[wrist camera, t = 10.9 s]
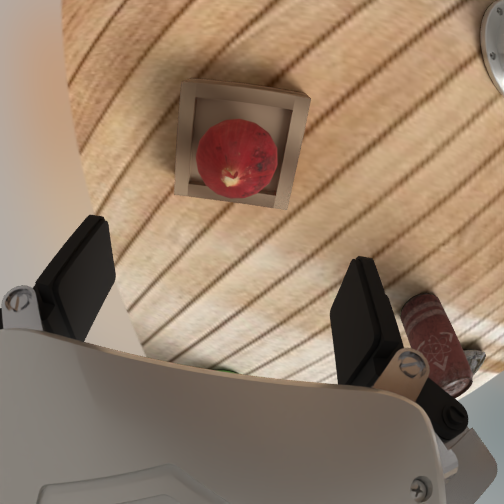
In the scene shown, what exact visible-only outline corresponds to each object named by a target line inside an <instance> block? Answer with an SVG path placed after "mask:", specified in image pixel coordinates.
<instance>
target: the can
mask: <svg viewBox="0 0 504 504" xmlns="http://www.w3.org/2000/svg"><path fill="white" fill-rule="evenodd" d="M401 321H402V323H403V326H404V329H405V332H406V334H407V337H408V340H409V343H410V346H411V348H412V349H415V350H417V351H419V352H420V353H421V354H422V355H423V356H424V357H425V358H426V360H427V361H428V364H429V368H430V372H429V376H428V377H429V378H430V379H431V380H432V381H434V382H435V383H436V384H437V385H439V386H440V387H441V388H442V389H444V390H445V391H446V392H447V393H448V394H450V395H451V396H452V397H453V398H457V397H458V396H460V395H461V394H463V393H464V392H466V391H467V390H468V389H469V388H470V386H471V385H472V382H473V381H472V377H473V373H472V370H471V368H470V366H469V363H468V361H467V358H466V356H465V354H464V351H463V349H462V347H461V345H460V342H459V340H458V338H457V336H456V334H455V331H454V329H453V327H452V325H451V323H450V321H449V319H448V317H447V315H446V313H445V311H444V309H443V307H442V305H441V303H440V301H439V299H438V297H436V296H435V295H432V294H428V293H424V294H419V295H417V296H415V297H413V298H412V299H410V300H409V301H408V302H407V303H406V304H405V305H404V307H403V309H402V313H401Z"/></svg>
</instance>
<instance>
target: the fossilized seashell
mask: <svg viewBox="0 0 504 504" xmlns="http://www.w3.org/2000/svg"><path fill="white" fill-rule="evenodd" d="M464 354H465V356H466V358H467V361H468V363H469V366H470V368H471V370H472V373H473V375H474V374H475V373H476V372H477V371H478V369H479V368H480V367H481V365H482V364H483V362H484V360H485V357H486V355H485V352H481V351H478V350H464Z"/></svg>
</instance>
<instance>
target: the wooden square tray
mask: <svg viewBox="0 0 504 504" xmlns="http://www.w3.org/2000/svg"><path fill="white" fill-rule="evenodd" d="M310 101H311V98H310V97H309V96H308V95H307V94H306V93H300V92H295V91H290V90H284V89H279V88H272V87H266V86H259V85H252V84H245V83H237V82H228V81H219V80H208V79H195V78H190V79H187V80H185V81H182V82H181V93H180V104H179V116H178V130H177V146H176V164H175V189H174V195H180V196H189V197H197V198H205V199H213V200H220V201H228V202H235V203H242V204H249V205H256V206H263V207H270V208H277V209H283V210H287V208H288V204H289V199H290V195H291V190H292V186H293V181H294V177H295V172H296V167H297V163H298V158H299V154H300V149H301V144H302V140H303V135H304V130H305V125H306V121H307V116H308V111H309V106H310ZM231 119H243V120H247V121H250V122H254V123H256V124H258V125H259V126H260V127H262V128H263V129H264V130H266V131H267V132H268V133H269V134H270V135H271V137H272V139H273V141H274V143H275V145H276V147H277V162H278V165H277V168H276V170H275V172H274V174H273V177H272V179H271V181H270V183H269V184H268V185H266V186H265V187H264V188H263V189H262V190H261V191H259V192H258V193H257V194H254V195H252V196H249V197H246V198H234V199H230V198H227V197H224V196H221V195H218V194H216V193H215V192H214V191H212V190H211V189H210V188H209V187H207V186H206V185H205V183H204V181H203V179H202V178H201V176H200V174H199V172H198V168H197V162H196V153H197V149H198V145H199V141H200V139H201V138H202V137H203V135H204V134H205V133H206V132H207V130H208V129H209V128H210V127H212V126H214V125H216V124H218V123H220V122H222V121H224V120H231Z"/></svg>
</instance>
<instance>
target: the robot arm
mask: <svg viewBox="0 0 504 504" xmlns="http://www.w3.org/2000/svg"><path fill="white" fill-rule="evenodd" d="M481 48H482V54H483V58H484V62H485V65H486V68H487V71H488V73H489V76H490V77H491V79H492V81H493V83H494V85H495V86H496V88H497V89H498V91H499V92H500V93H501V94H502V95H503V96H504V0H498V1H495V2H494V3H492V4H491V5H490V6H489V7H488V9H487V10H486V12H485V14H484V17H483V20H482V25H481ZM115 277H116V273H115V267H114V261H113V254H112V248H111V241H110V233H109V225H108V222H107V221H105V219H104V217H102V216H96V215H89V216H88V217H87V218H86V219H85V220H84V221H83V222H82V224H81V225H80V226H79V227H78V228H77V229H76V231H75V232H74V233H73V234H72V236H71V237H70V238H69V239H68V240H67V242H66V243H65V244H64V245H63V247H62V248H61V249H60V250H59V252H58V253H57V254H56V256H55V257H54V258H53V259H52V261H51V262H50V263H49V265H48V266H47V267H46V269H45V270H44V271H43V273H42V274H41V275H40V277H39V278H38V279H37V281H36V282H35V283H36V284H35V286H34V287H33V288H31V287H29V286H23V285H22V286H17V287H15V288H13V289H11V290H10V291H9V292H7V294H6V295H5V296H4V298H3V300H2V308H0V504H474V503H475V502H476V501H477V500H478V499H479V497H480V496H481V495H482V494H483V493H484V491H485V490H486V489H487V488H488V487H489V485H490V484H491V483H492V482H493V481H494V479H495V477H496V475H497V463H496V461H495V459H494V458H493V456H492V455H491V453H490V452H489V450H488V449H487V447H486V446H485V445H484V443H483V442H482V440H481V439H480V438H479V436H478V435H477V433H476V432H475V430H474V429H473V428H471V429H469V428H468V427H467V425H468V415H467V411H466V410H465V408H464V407H463V406H462V404H460V403H459V402H458V401H457V400H456V399H455V398H453V397H452V396H451V395H450V394H448V393H447V392H446V391H445V390H444V389H442V388H441V387H440V386H439V385H437V384H436V383H435V382H434V381H432V380H431V379H430V378H429V377H428V376H429V372H430V368H429V364H428V361H427V360H426V358H425V357H424V356H423V355H422V354H421V353H420V352H419V351H417V350H415V349H412V348H404V346H403V343H402V339H401V336H400V332H399V329H398V326H397V322H396V319H395V316H394V313H393V310H392V307H391V304H390V301H389V298H388V296H387V295H386V294H385V291H384V288H383V286H382V283H381V280H380V277H379V274H378V271H377V268H376V265H375V263H374V260H373V259H372V258H367V257H361V256H358V257H357V258H356V259H352V261H351V263H350V265H349V267H348V270H347V272H346V275H345V277H344V279H343V282H342V284H341V287H340V289H339V291H338V293H337V296H336V298H335V300H334V303H333V305H332V307H331V310H330V321H331V329H332V336H333V344H334V352H335V361H336V370H337V379H338V384H327V383H315V382H304V381H293V380H283V379H274V378H265V377H257V376H250V375H242V374H235V373H228V372H222V371H215V370H209V369H203V368H198V367H192V366H187V365H181V364H176V363H171V362H166V361H161V360H156V359H152V358H147V357H142V356H138V355H134V354H129V353H125V352H121V351H117V350H113V349H109V348H105V347H101V346H97V345H94V344H90V343H86V342H84V341H85V338H86V336H87V334H88V332H89V330H90V328H91V326H92V324H93V322H94V320H95V318H96V316H97V314H98V312H99V310H100V308H101V306H102V304H103V302H104V300H105V299H106V297H107V295H108V293H109V291H110V289H111V287H112V285H113V284H114V282H115Z"/></svg>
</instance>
